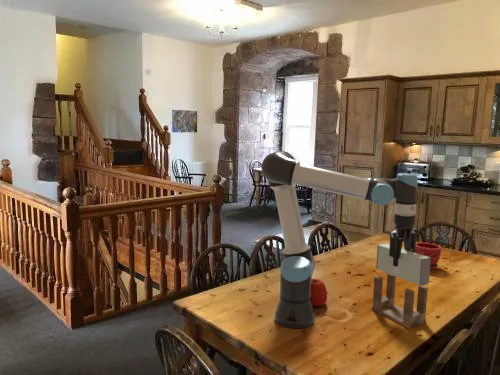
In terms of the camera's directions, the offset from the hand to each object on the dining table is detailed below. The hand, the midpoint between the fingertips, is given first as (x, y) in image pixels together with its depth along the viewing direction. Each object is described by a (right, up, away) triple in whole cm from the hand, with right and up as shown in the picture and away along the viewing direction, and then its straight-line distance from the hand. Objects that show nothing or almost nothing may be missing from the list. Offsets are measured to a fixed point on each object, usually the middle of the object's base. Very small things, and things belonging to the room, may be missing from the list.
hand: (401, 272), depth 159 cm
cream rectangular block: (0, -1, 0) cm, 1 cm away
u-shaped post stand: (0, -18, +3) cm, 18 cm away
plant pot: (+36, -10, +61) cm, 72 cm away
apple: (-32, -16, +13) cm, 38 cm away
